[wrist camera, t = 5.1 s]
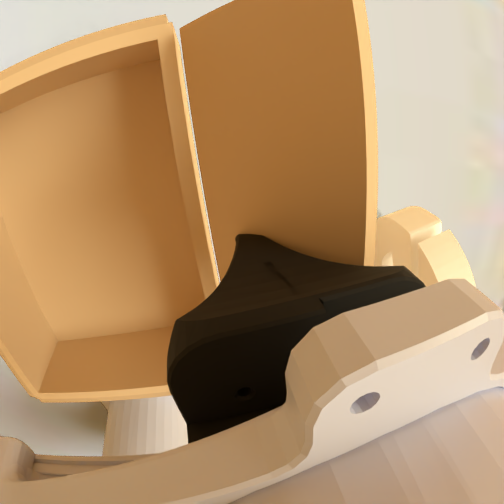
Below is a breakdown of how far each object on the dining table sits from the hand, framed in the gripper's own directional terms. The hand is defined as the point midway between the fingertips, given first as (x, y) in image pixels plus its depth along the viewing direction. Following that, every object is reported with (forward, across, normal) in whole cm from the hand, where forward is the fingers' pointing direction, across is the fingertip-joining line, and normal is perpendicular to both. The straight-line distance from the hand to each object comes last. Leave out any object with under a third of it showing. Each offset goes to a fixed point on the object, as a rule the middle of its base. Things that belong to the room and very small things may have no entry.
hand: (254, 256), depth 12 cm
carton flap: (-1, 0, 0) cm, 1 cm away
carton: (+8, +8, 0) cm, 12 cm away
